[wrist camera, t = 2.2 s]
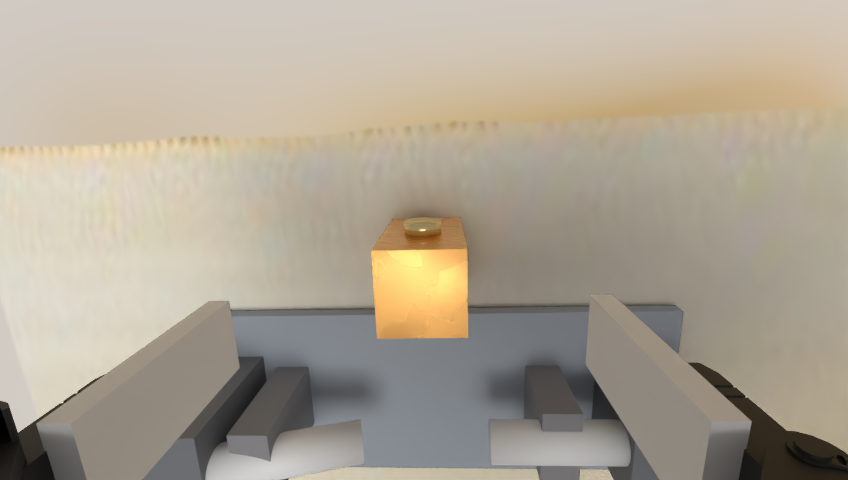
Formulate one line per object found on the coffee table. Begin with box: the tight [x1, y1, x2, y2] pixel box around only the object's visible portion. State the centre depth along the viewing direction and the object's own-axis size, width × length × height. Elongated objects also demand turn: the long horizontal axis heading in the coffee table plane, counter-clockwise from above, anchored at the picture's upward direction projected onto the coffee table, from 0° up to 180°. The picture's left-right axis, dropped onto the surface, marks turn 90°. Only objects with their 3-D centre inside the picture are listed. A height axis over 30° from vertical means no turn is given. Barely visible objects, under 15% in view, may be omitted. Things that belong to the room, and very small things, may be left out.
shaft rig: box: [142, 305, 683, 480], centre depth 25 cm, size 32×12×9 cm, turn 92°
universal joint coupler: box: [371, 217, 468, 339], centre depth 23 cm, size 6×4×8 cm
